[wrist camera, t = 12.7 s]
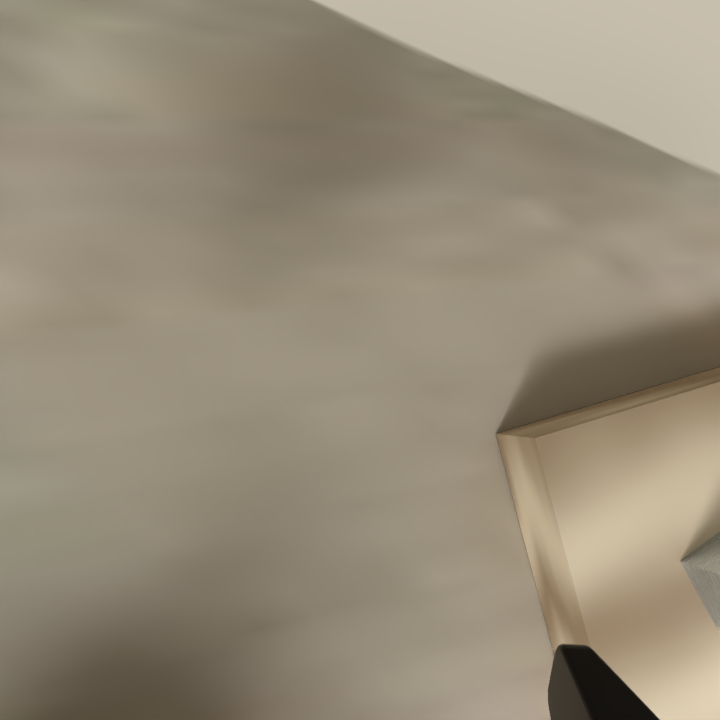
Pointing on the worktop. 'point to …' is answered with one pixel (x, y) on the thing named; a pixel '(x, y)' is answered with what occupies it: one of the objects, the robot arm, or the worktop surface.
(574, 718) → the robot arm
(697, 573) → the block
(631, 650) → the shallow cream tray
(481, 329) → the worktop surface
